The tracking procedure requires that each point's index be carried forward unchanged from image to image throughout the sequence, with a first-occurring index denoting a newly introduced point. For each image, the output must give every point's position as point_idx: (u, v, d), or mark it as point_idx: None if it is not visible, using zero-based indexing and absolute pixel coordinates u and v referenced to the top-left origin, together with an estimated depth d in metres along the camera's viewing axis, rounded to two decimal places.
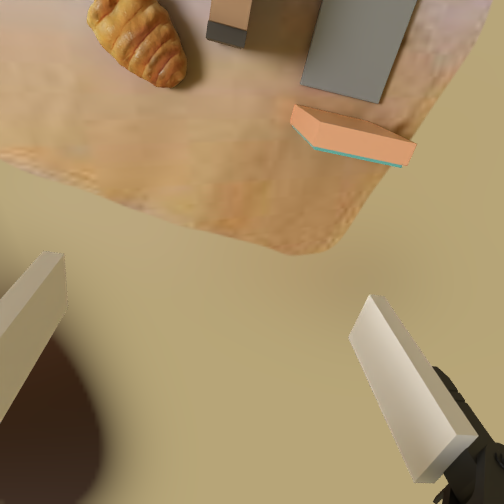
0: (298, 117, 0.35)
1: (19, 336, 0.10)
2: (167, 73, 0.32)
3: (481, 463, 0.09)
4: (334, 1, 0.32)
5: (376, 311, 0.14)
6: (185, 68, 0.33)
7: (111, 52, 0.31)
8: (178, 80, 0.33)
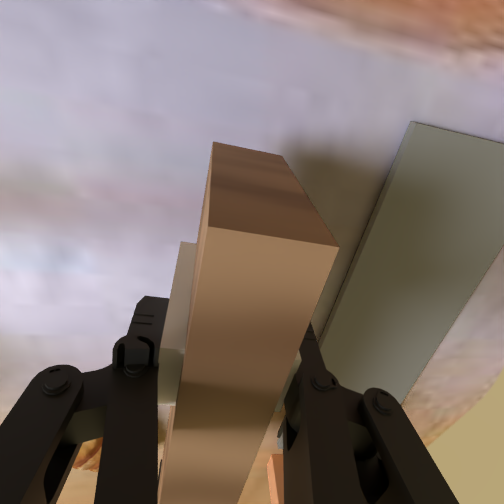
0: (274, 498, 0.29)
1: None
2: None
3: (302, 393, 0.10)
4: None
5: None
6: None
7: None
8: None
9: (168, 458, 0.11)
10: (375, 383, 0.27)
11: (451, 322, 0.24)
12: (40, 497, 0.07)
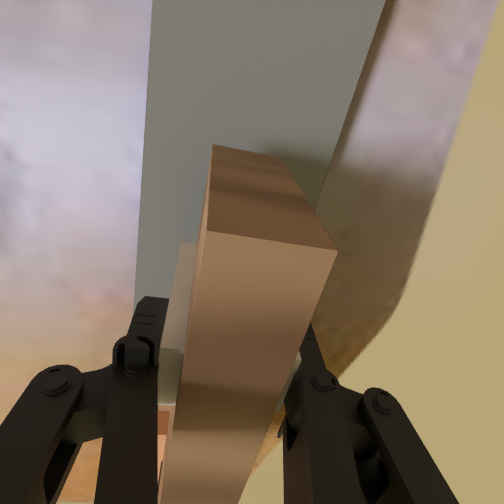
0: None
1: None
2: None
3: (301, 393, 0.10)
4: None
5: None
6: None
7: None
8: None
9: (168, 461, 0.11)
10: None
11: (317, 191, 0.18)
12: (40, 497, 0.07)
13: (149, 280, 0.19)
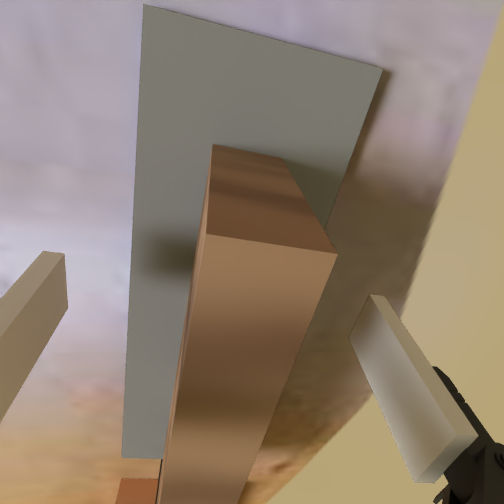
0: None
1: (19, 336, 0.10)
2: None
3: (481, 463, 0.09)
4: (142, 394, 0.21)
5: (376, 311, 0.14)
6: None
7: None
8: None
9: (168, 461, 0.11)
10: None
11: None
12: None
13: (138, 379, 0.21)
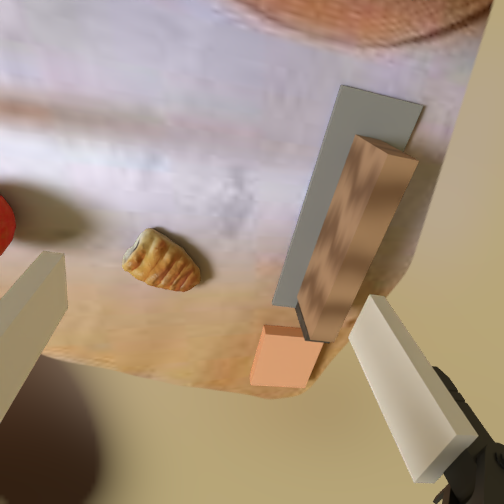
0: (260, 345, 0.50)
1: (19, 336, 0.10)
2: (186, 285, 0.42)
3: (481, 463, 0.09)
4: (295, 261, 0.43)
5: (376, 310, 0.14)
6: (199, 276, 0.42)
7: (143, 281, 0.41)
8: (195, 284, 0.42)
9: (351, 243, 0.33)
10: None
11: None
12: None
13: (295, 251, 0.42)
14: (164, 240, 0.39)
